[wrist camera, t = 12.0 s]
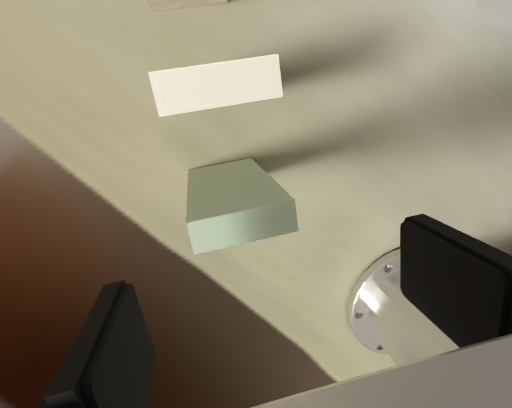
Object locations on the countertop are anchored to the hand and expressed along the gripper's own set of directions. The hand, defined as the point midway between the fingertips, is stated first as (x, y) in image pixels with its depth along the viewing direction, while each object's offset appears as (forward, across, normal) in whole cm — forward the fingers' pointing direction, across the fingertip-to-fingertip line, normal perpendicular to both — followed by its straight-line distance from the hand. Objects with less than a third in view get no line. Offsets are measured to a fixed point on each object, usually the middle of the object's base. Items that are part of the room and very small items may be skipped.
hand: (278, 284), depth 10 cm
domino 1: (+15, +1, -7) cm, 17 cm away
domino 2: (+15, +1, -1) cm, 15 cm away
